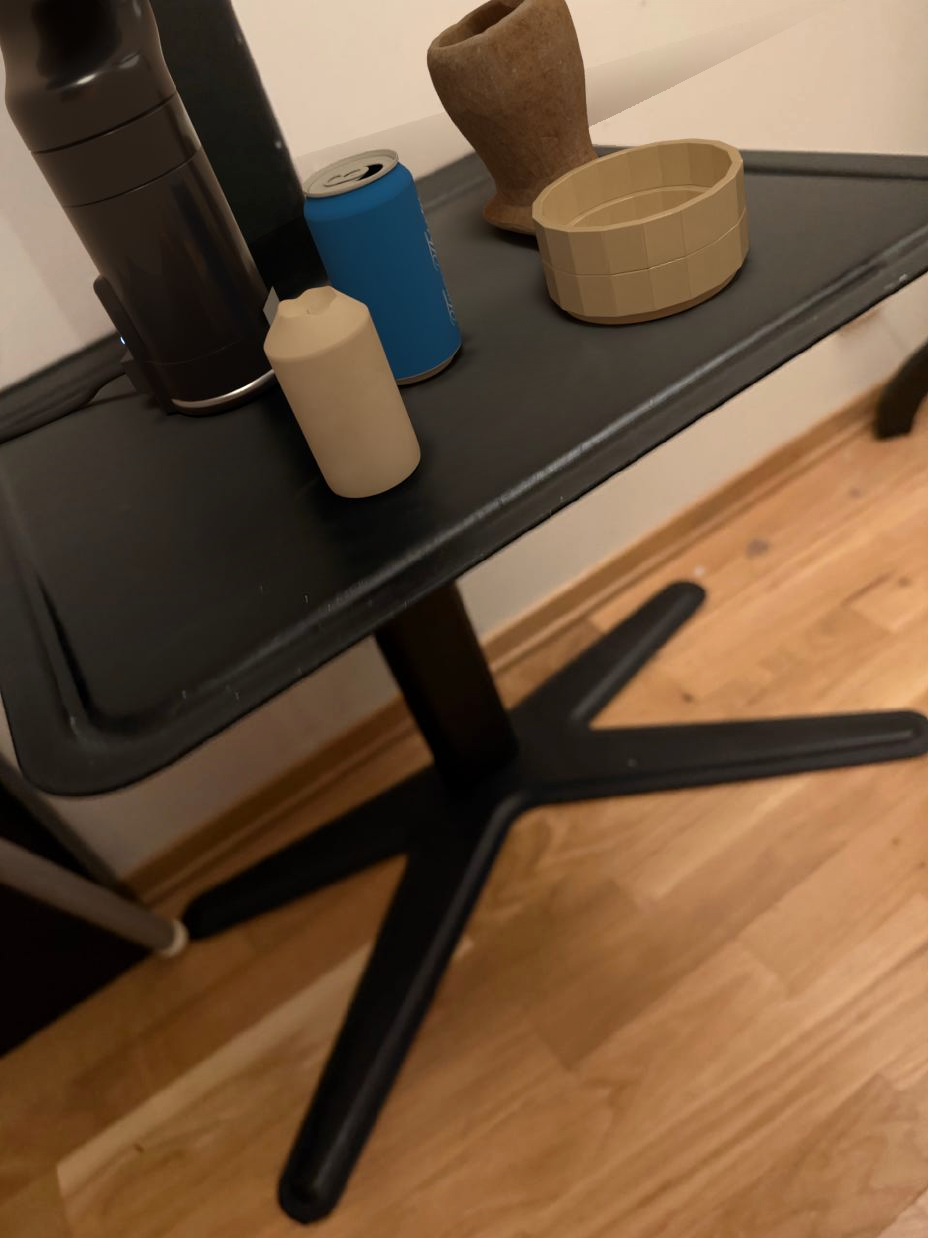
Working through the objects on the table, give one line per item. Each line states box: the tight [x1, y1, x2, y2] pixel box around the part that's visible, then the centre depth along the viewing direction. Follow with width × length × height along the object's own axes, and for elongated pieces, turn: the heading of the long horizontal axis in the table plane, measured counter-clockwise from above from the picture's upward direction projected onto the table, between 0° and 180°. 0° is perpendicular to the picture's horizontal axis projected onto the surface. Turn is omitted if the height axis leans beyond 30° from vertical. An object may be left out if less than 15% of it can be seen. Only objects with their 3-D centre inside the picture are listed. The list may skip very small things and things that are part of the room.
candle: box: [264, 285, 421, 499], centre depth 46 cm, size 6×6×10 cm
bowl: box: [532, 137, 750, 325], centre depth 55 cm, size 12×12×6 cm
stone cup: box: [426, 0, 600, 237], centre depth 62 cm, size 15×12×15 cm
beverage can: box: [301, 148, 463, 386], centre depth 53 cm, size 6×6×12 cm
